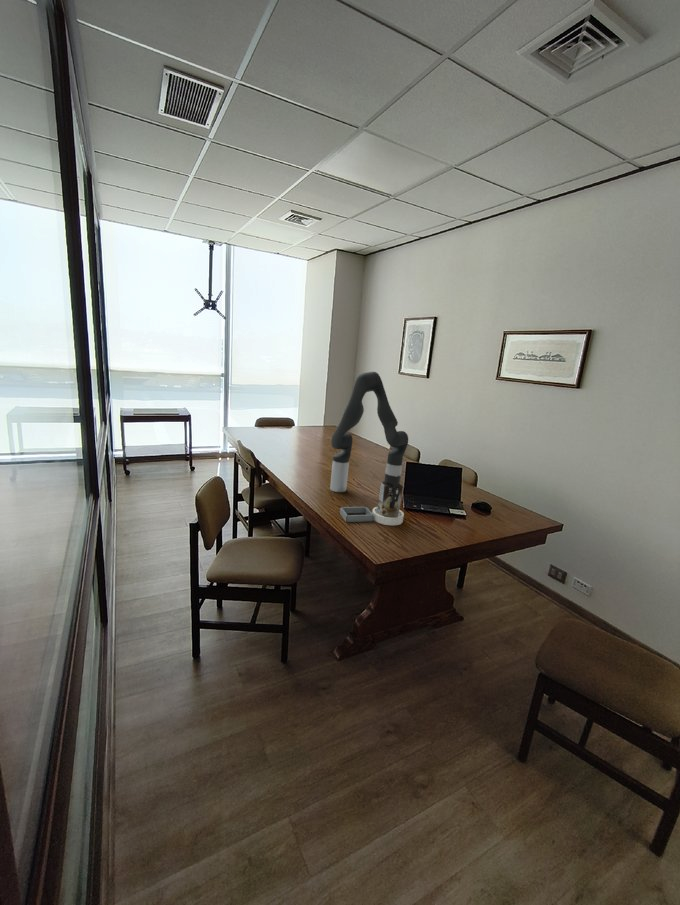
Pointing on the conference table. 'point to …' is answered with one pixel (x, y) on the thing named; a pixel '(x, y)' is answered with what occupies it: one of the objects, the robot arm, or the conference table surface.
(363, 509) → the grey rectangular frame
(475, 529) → the conference table surface
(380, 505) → the coffee box
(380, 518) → the bowl
